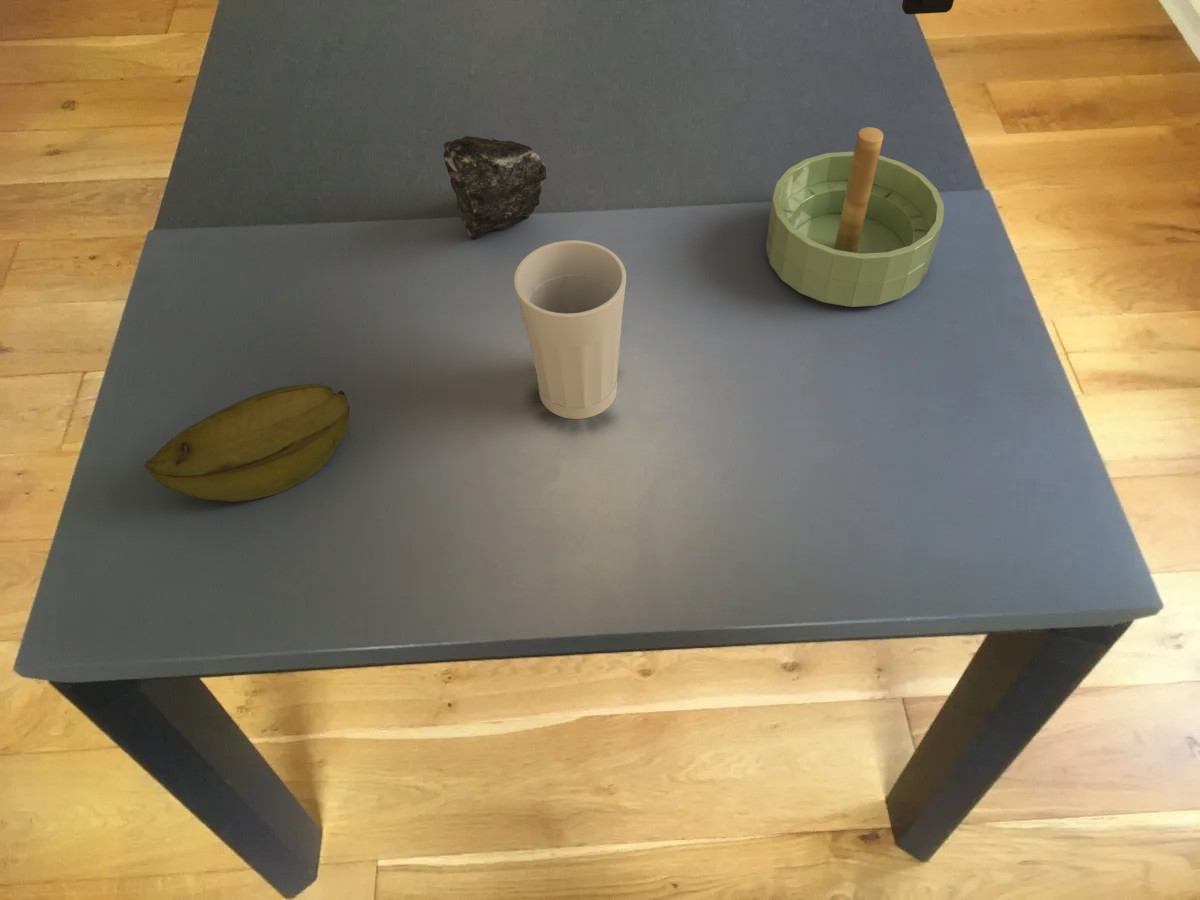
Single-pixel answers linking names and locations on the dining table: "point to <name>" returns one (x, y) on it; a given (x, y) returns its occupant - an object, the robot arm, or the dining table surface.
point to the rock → (493, 182)
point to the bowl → (888, 238)
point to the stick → (858, 188)
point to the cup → (573, 324)
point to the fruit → (255, 445)
